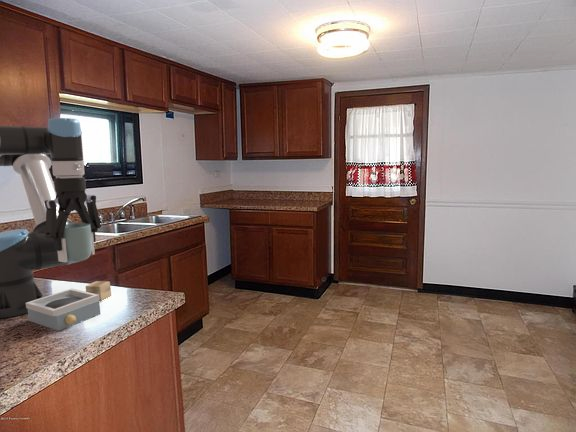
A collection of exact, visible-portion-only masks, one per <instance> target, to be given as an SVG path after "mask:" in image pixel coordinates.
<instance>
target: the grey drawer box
mask: <svg viewBox="0 0 576 432" xmlns="http://www.w3.org/2000/svg"><path fill="white" fill-rule="evenodd" d="M98 300H100V299H99V295H98V294H93V293H89V292H86V290H85V291H84V290H81V289H76V288H68V289H65V290H62V291H59V292H56V293H52V294H50V295H46V296H43V298H40V299H36V300H33V301H30V302H27V303H26V308H27V309H28V313H27V316H28V321H29V322H31V323H34V324H37V325H40V326H43V327H46V328H50V329H52V330H56V331H62V330H64V329H67V328H69V327H72V326H74V325H77V324H79V323H81V321H82V322H84V321H86V319H87V320H89V319H92V318H94V317H96V315H97V316H99V315H101V307H100V306H101V305H100V302H99V301H98ZM98 314H99V315H98ZM93 316H94V317H93ZM91 317H92V318H91Z"/></svg>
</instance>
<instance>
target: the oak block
mask: <svg viewBox="0 0 576 432" xmlns="http://www.w3.org/2000/svg"><path fill="white" fill-rule="evenodd" d="M111 289H112V287H111V281H108V280H107V281H105V280H104V281H101V280H96V281H94V282H91V283H89V284H87V285H85V292H89V293H93V294H98V295H99V299H100V300H98V301H102V300H104V299H106V298H107V299H109V298H110V296H111V297H112V292H111V291H112V290H111ZM108 297H109V298H108ZM107 299H106V300H107ZM104 301H105V300H104ZM102 302H103V301H102Z"/></svg>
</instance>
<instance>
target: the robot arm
mask: <svg viewBox="0 0 576 432" xmlns="http://www.w3.org/2000/svg"><path fill="white" fill-rule="evenodd" d="M82 133H83V132H82V129H81V123H80V121H79V120H78V119H76V118H68V117H52V118H49V119H48V120H47V126H18V125H17V126H15V125H0V167H12V168H13V170H14V172H15V173H17V174H19V175H20V177H21V180H22V183H23V186H24V190H25V192H26V196H27V199H28V204H29V206H30V210H31V213H32V216H33V219H34V223H35V226H33V229H32V232H29V230H28V229H26V228H17V229H10V230H5V231H1V232H0V319H5V318H12V317H17V316H20V315H24V314H28V309H27V308H26V303H27V302H30V301H33V300H36V299H40V298H43V297H44V295H43V292H41V289H40V288H39V286H38V285H37V283H36V281H35V277H34V271H39V270H45V269H50V268H56V267H61V266H66V265H67V266H68V265H71V264H75V263H77V262H70V261H68V260H67V250H66V240H65V238H62V236H63V233H64V229H65V226H66V224H70V223H73V220H71V219H69V216H70V215H71V212H73V211H75V212H77V214H78V216H79V218H80V220H81V223H89V224H90V225H91V234H92V252H91V255H92V256H93V255H96V254H95V253H96V251H95V243H96V239H97V238H96V233H97V232H98V230H99V229H101V228H102V225H101V221H100V216H99V212H98V208H97V207H98V206H97V203H96V202H97V196H96V195H95V194H94V195H93V194H86V190H87V186H86V185H87V184H86V178H85V177H84V175H85V161H84V154H83V153H84V151H83V141H82V140H83V138H82V135H83V134H82ZM51 166H52V167H51ZM50 169H52V174H51V171H50ZM52 175H53V176H54V177H55V178H54V179H53V178H52ZM85 202H86V203H85ZM91 255H90V256H91Z"/></svg>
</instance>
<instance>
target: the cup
mask: <svg viewBox="0 0 576 432" xmlns="http://www.w3.org/2000/svg"><path fill="white" fill-rule="evenodd" d="M62 238H65V240H66V250H67V260H68V261H70V262H76V263H79V262H83V261H86V260H88V259H89V258H90V256H91V252H92V234H91V225H90V224H89V223H83V222H72V223H70V224H66V226H65V229H64V233H63V236H62Z"/></svg>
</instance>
